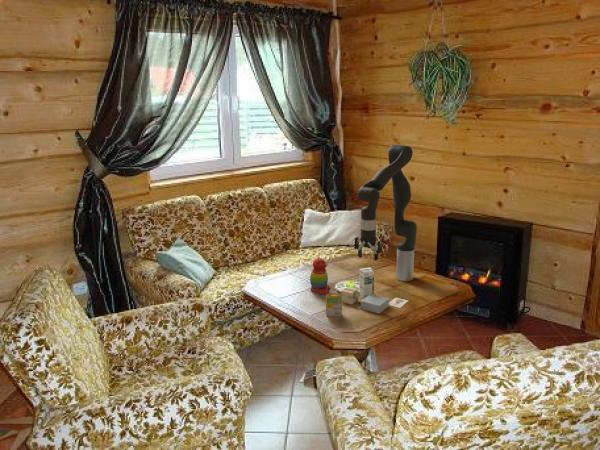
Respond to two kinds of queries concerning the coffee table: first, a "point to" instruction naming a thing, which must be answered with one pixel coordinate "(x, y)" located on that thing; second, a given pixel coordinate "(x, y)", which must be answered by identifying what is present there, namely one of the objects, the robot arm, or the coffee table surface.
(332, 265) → the coffee table surface
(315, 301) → the coffee table surface
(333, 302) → the crayon box
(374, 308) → the base brick
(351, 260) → the coffee table surface
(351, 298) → the birch cube
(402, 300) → the page
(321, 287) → the stacking bear
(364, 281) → the syrup box
